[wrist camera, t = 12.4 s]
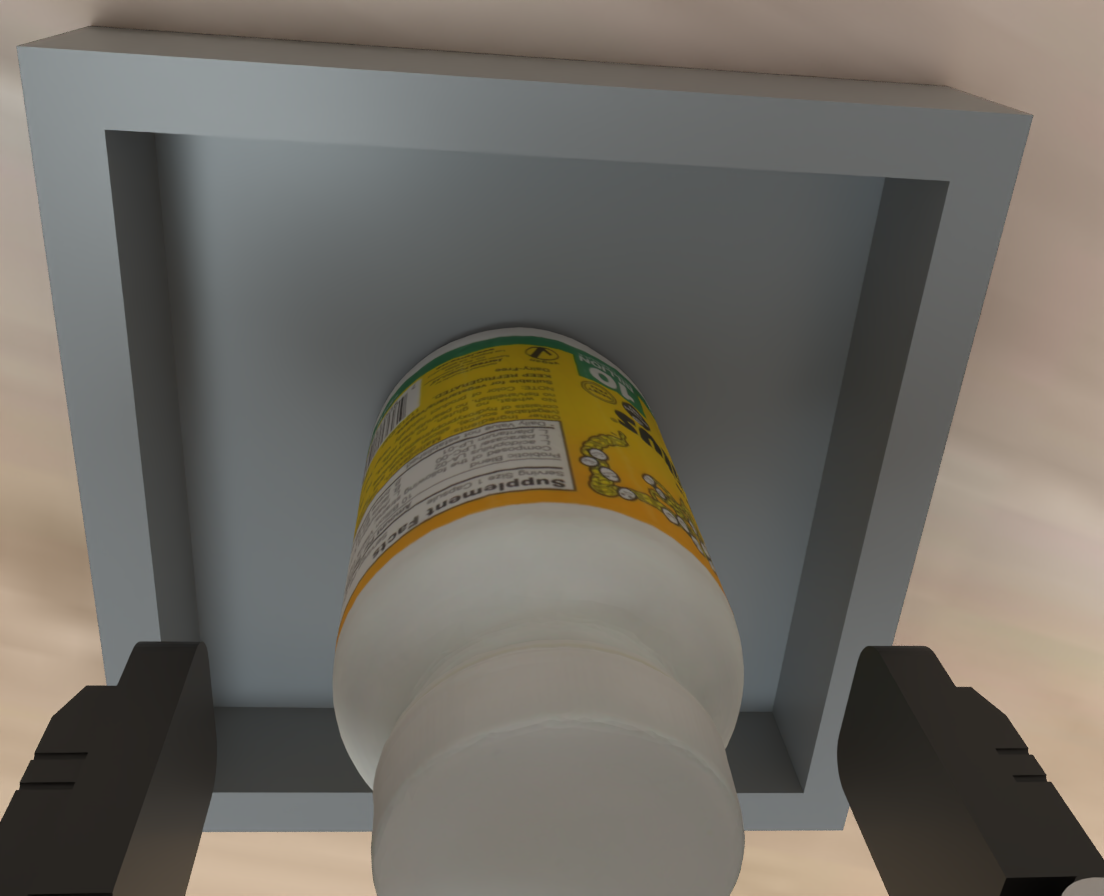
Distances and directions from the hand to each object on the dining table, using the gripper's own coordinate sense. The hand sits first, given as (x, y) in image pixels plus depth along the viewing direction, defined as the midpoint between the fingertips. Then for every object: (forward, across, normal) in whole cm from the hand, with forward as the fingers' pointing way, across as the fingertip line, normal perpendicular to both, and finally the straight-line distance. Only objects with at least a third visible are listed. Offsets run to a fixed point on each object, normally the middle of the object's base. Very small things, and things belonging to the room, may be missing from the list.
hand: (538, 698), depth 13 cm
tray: (+8, 0, 0) cm, 8 cm away
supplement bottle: (+8, 0, 0) cm, 8 cm away
